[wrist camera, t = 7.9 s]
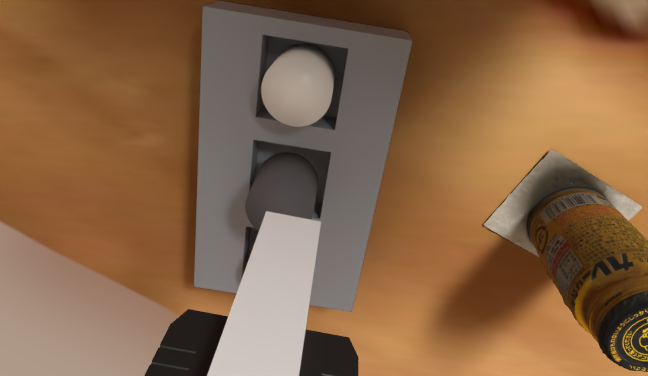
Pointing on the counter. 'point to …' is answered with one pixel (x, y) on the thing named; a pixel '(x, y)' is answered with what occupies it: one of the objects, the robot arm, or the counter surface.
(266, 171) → the black button
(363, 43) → the button board
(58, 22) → the counter surface
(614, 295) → the condiment
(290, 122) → the white button
